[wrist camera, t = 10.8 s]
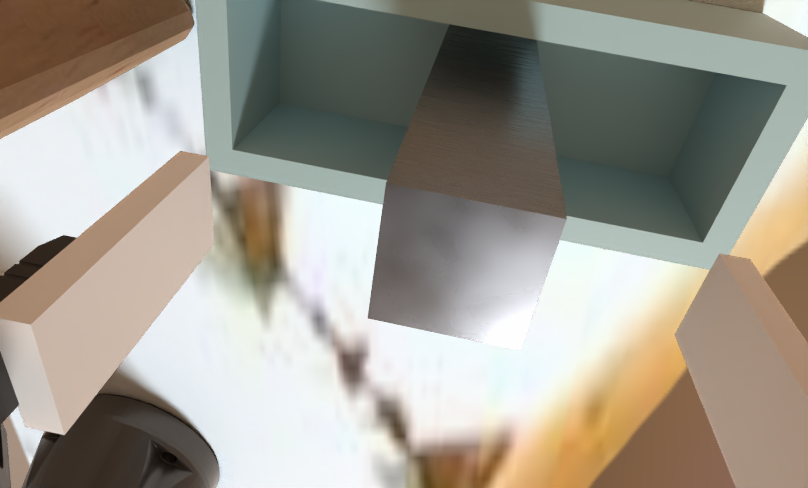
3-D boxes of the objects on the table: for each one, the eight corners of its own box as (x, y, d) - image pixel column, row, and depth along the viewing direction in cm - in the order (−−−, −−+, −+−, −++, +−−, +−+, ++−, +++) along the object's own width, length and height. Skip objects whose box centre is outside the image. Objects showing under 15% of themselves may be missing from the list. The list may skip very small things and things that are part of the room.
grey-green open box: (264, 113, 30) (207, 169, 25) (263, -74, 25) (191, -60, 20) (677, 193, 29) (719, 271, 23) (763, 13, 24) (842, 56, 18)
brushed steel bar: (434, 107, 28) (367, 318, 15) (449, 24, 26) (385, 183, 12) (514, 122, 28) (519, 350, 14) (536, 40, 25) (567, 218, 12)
